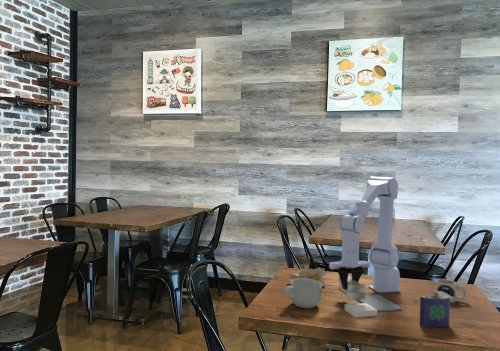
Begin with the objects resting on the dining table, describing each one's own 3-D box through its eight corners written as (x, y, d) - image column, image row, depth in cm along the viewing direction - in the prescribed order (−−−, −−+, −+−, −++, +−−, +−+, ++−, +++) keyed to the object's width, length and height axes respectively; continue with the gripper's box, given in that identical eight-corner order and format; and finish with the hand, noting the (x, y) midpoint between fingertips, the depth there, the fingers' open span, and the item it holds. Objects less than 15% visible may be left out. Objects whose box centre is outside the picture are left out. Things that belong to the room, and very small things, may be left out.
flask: (446, 323, 131) (447, 289, 131) (451, 327, 128) (453, 292, 128) (417, 324, 130) (419, 289, 130) (422, 328, 127) (423, 292, 127)
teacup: (311, 299, 152) (312, 276, 152) (327, 309, 142) (328, 285, 142) (276, 302, 147) (276, 280, 147) (290, 313, 137) (290, 289, 137)
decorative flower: (318, 274, 179) (320, 252, 176) (332, 288, 168) (334, 265, 166) (286, 279, 174) (287, 257, 171) (298, 294, 163) (300, 271, 161)
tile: (366, 303, 144) (377, 310, 137) (366, 309, 144) (377, 316, 137) (344, 304, 142) (354, 311, 135) (344, 310, 142) (354, 318, 135)
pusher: (350, 289, 153) (350, 275, 153) (365, 299, 142) (365, 284, 142) (334, 290, 152) (335, 276, 151) (348, 300, 141) (349, 285, 141)
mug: (435, 301, 153) (436, 282, 153) (435, 295, 159) (436, 278, 159) (466, 305, 149) (467, 286, 149) (465, 300, 155) (466, 281, 155)
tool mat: (378, 296, 157) (378, 294, 157) (401, 310, 142) (402, 308, 142) (353, 297, 155) (353, 295, 155) (375, 312, 140) (375, 310, 140)
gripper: (336, 252, 141) (334, 293, 142) (375, 251, 145) (374, 291, 145) (327, 248, 148) (326, 287, 148) (365, 247, 151) (363, 285, 152)
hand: (349, 288), depth 147 cm, fingers closed on pusher, 3 cm apart
